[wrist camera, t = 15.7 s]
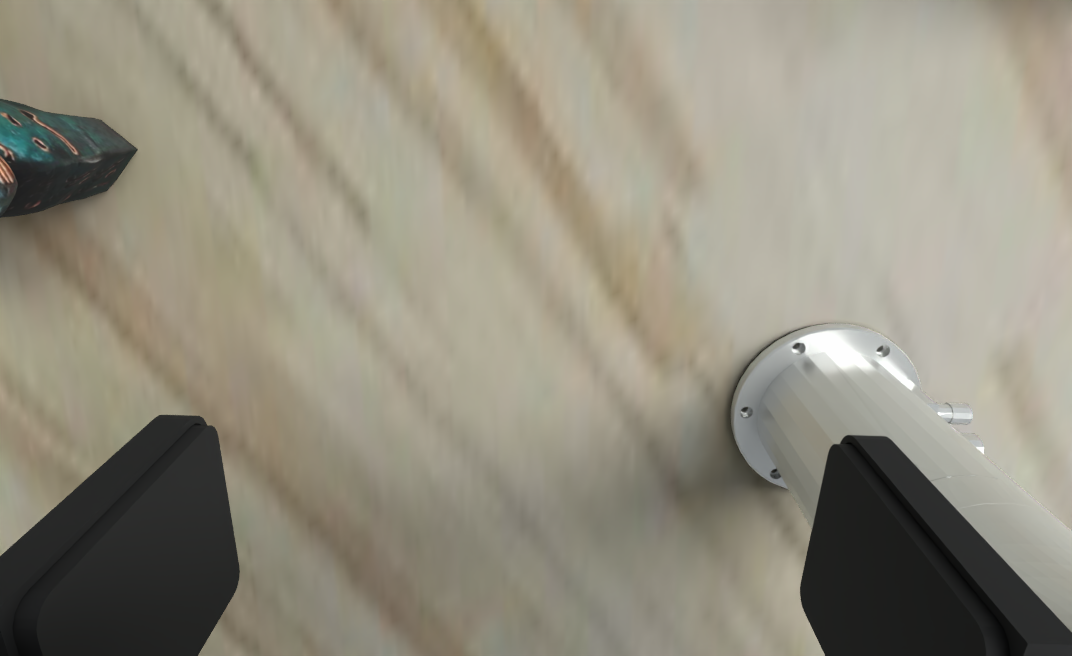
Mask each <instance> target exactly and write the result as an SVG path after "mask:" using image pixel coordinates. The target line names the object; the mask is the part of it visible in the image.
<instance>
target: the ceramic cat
mask: <svg viewBox="0 0 1072 656" xmlns="http://www.w3.org/2000/svg"><path fill="white" fill-rule="evenodd" d="M137 150H138V149H136V148H135V147H134V146H133V145H131V144H130V143H129V142H128V141H127V140H125V139H124V138H123V137H122V136H120V135H119V134H118V133H117V132H115V131H114V130H113V129H111V128H110V127H109V126H108V125H106V124H105V123H104V122H103V121H102V120H99V119H95V118H87V117H78V116H70V115H63V114H55V113H49V112H44V111H41V110H38V109H35V108H32V107H29V106H27V105H24V104H20V103H17V102H12V101H8V100H3V99H0V218H1V217H10V216H19V215H25V214H30V213H35V212H39V211H43V210H45V209H48V208H50V207H53V206H55V205H58V204H62V203H66V202H70V201H75V200H79V199H84V198H87V197H90V196H92V195H95V194H98V193H101V192H105V191H107V190H108V189H109V188H110V187H111V186H112V184H113V183H114V182H115V181H116V180H117V178H118V177H119V175H120V174H121V172H122V171H123V169H124V168H125V167H126V165H127V164H128V162H129V161H130V159H131V158H132V157H133V155H134V154H135V152H136V151H137Z"/></svg>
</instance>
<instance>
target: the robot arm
mask: <svg viewBox="0 0 1072 656" xmlns="http://www.w3.org/2000/svg"><path fill="white" fill-rule="evenodd" d="M796 343H797V345H796V346H794V347H793V345H795V344H796ZM878 347H879V348H878ZM744 407H746V408H744ZM742 408H744V409H742ZM972 417H973V412H972V408H971V407H970V406H969V404H966V403H945V404H939V403H936V402H935V401H934V400H933V399H931V398H930V397H929V396H928V395H927V394H926V393H924V392H923V391H922V389H921V381H920V379H919V376H918V373H917V371H916V368H915V366H914V365H913V363H912V362H911V360H910V359H909V357H908V356H907V355H906V353H904V352H903V351H902V350H901V349H900V348H899V347H898V346H897V345H896V344H895V343H893V342H892V341H890V340H889V339H888V338H886V337H885V336H883V335H882V334H880V333H877V332H875V331H873V330H871V329H868V328H866V327H861V326H857V325H852V324H840V323H829V324H822V325H815V326H810V327H807V328H804V329H801V330H798V331H795V332H793V333H791V334H789V335H787V336H785V337H783V338H781V339H779V340H777V341H776V342H774V343H773V344H772V345H770V346H769V347H768V348H766V349H765V350H764V351H762V352H761V353H760V355H759V356H758V357H757V358H756V359H755V360H754V361H753V362H752V363H751V364H750V365H749V367H748V368H747V370H746V371H745V373H744V374H743V376H742V377H741V379H740V381H739V383H738V386H737V388H736V391H735V393H734V396H733V401H732V406H731V427H732V431H733V435H734V439H735V441H736V443H737V446H738V448H739V450H740V452H741V454H742V455H743V457H744V458H745V460H746V461H747V463H748V464H749V465H750V466H751V467H752V468H753V469H754V470H755V471H756V472H757V473H758V474H759V475H760V476H762V477H763V478H765V479H766V480H767V481H769V482H771V483H773V484H775V485H778V486H781V487H783V488H786V489H789V491H790V493H791V494H792V496H793V498H794V499H795V501H796V503H797V505H798V506H799V508H800V510H801V512H802V513H803V515H804V517H805V518H806V520H807V522H808V524H809V525H810V527H811V529H812V532H811V537H810V542H809V547H808V551H807V556H806V561H805V566H804V571H803V575H802V580H801V586H800V596H801V602H802V607H803V609H804V612H805V614H806V616H807V618H808V620H809V622H810V624H811V627H812V629H813V631H814V633H815V635H816V637H817V639H818V641H819V643H820V645H821V647H822V650H823V652H824V654H825V656H1072V530H1071V529H1069V528H1068V527H1067V526H1066V525H1065V524H1063V523H1062V522H1061V521H1060V520H1059V519H1058V518H1056V517H1055V516H1054V515H1053V514H1052V513H1051V512H1049V511H1048V510H1047V509H1046V508H1045V507H1044V506H1043V505H1041V504H1040V503H1039V502H1038V501H1037V500H1036V499H1035V498H1033V497H1032V496H1031V495H1030V494H1029V493H1028V492H1026V491H1025V490H1024V489H1023V488H1022V487H1021V486H1020V485H1018V484H1017V483H1016V482H1015V481H1014V480H1013V479H1012V478H1010V477H1009V476H1008V475H1007V474H1006V473H1005V472H1004V471H1002V470H1001V469H1000V468H999V467H998V466H997V465H996V464H994V463H993V462H992V461H991V460H990V459H989V458H988V457H986V456H985V455H984V446H983V442H982V440H981V438H980V437H979V436H978V435H976V434H974V433H959V432H958V431H957V430H956V429H954V428H953V427H952V426H951V425H950V424H963V425H967V424H969V423H970V422H971V420H972ZM239 572H240V571H239V562H238V556H237V550H236V543H235V537H234V531H233V525H232V519H231V513H230V506H229V500H228V494H227V488H226V482H225V476H224V469H223V463H222V457H221V451H220V445H219V439H218V434H217V431H216V429H215V427H213V426H207V424H206V422H205V420H204V419H203V418H202V417H200V416H184V415H159V416H158V417H156V418H154V419H153V420H152V421H151V422H150V423H149V424H148V425H147V426H146V427H144V428H143V429H142V430H141V431H140V432H139V433H138V434H137V435H135V436H134V437H133V438H132V439H131V440H130V441H129V442H128V443H127V444H125V445H124V446H123V447H122V448H121V449H120V450H119V451H118V452H116V453H115V454H114V455H113V456H112V457H111V458H110V459H109V460H107V461H106V462H105V463H104V464H103V465H102V466H101V467H100V468H99V469H97V470H96V471H95V472H94V473H93V474H92V475H91V476H90V477H88V478H87V479H86V480H85V481H84V482H83V483H82V484H81V485H79V486H78V487H77V488H76V489H75V490H74V491H73V492H72V493H71V494H69V495H68V496H67V497H66V498H65V499H64V500H63V501H62V502H60V503H59V504H58V505H57V506H56V507H55V508H54V509H53V510H52V511H50V512H49V513H48V514H47V515H46V516H45V517H44V518H43V519H41V520H40V521H39V522H38V523H37V524H36V525H35V526H34V527H32V528H31V529H30V530H29V531H28V532H27V533H26V534H25V535H24V536H22V537H21V538H20V539H19V540H18V541H17V542H16V543H15V544H13V545H12V546H11V547H10V548H9V549H8V550H7V551H6V552H4V553H3V554H2V555H1V556H0V656H198V654H199V653H200V651H201V649H202V647H203V646H204V644H205V642H206V641H207V639H208V637H209V636H210V634H211V632H212V631H213V629H214V627H215V626H216V624H217V622H218V620H219V619H220V617H221V615H222V614H223V612H224V610H225V609H226V607H227V605H228V604H229V602H230V600H231V599H232V597H233V595H234V593H235V591H236V588H237V585H238V581H239Z"/></svg>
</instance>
